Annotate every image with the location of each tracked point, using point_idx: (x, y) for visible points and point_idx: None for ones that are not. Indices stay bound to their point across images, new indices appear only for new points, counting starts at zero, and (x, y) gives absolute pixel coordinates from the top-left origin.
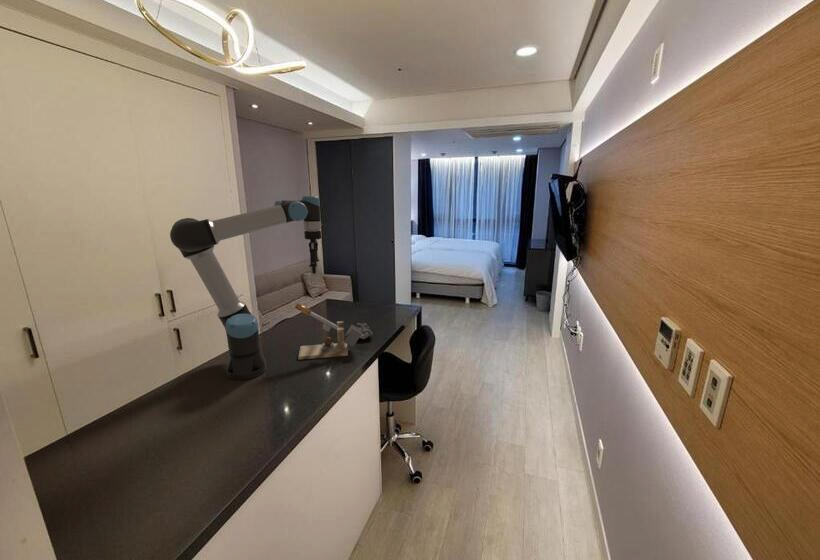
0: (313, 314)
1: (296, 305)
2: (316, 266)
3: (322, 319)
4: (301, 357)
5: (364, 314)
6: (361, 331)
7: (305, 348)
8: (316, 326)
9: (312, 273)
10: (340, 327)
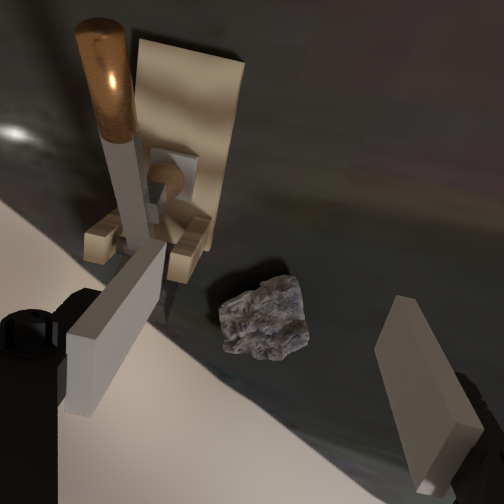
0: (103, 147)
1: (74, 31)
2: (66, 406)
3: (114, 189)
4: (140, 52)
5: (492, 390)
6: (244, 323)
7: (209, 81)
8: (473, 174)
9: (83, 288)
10: None
